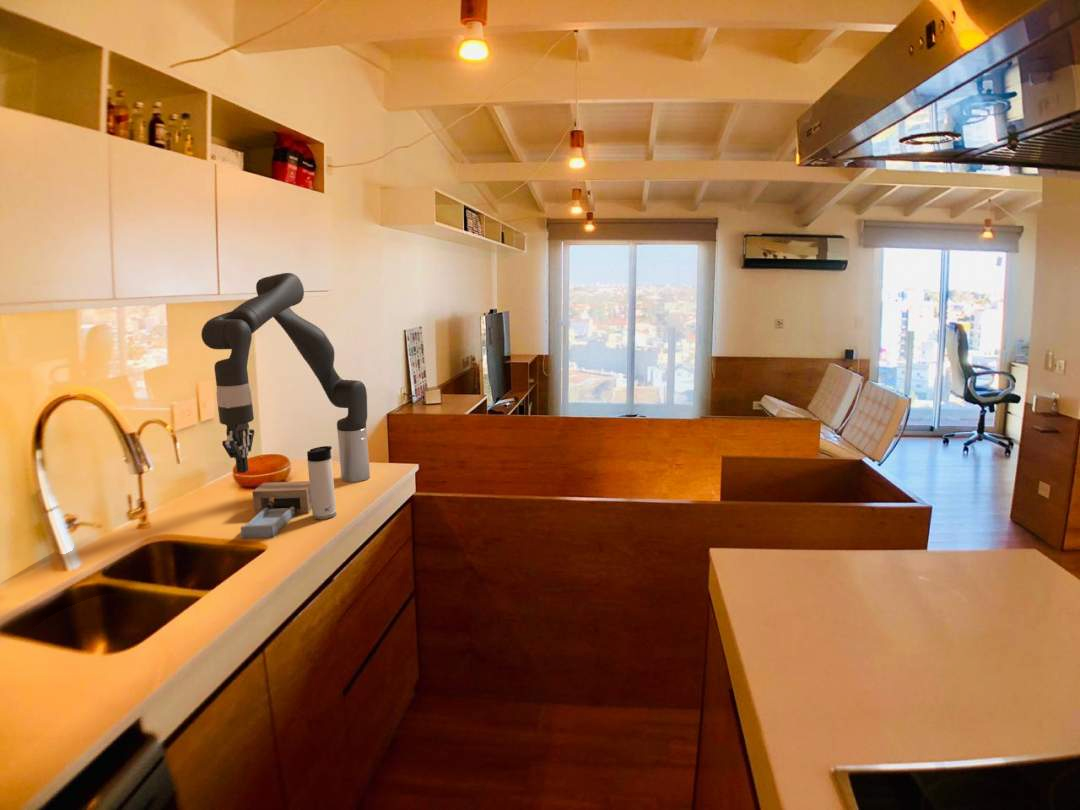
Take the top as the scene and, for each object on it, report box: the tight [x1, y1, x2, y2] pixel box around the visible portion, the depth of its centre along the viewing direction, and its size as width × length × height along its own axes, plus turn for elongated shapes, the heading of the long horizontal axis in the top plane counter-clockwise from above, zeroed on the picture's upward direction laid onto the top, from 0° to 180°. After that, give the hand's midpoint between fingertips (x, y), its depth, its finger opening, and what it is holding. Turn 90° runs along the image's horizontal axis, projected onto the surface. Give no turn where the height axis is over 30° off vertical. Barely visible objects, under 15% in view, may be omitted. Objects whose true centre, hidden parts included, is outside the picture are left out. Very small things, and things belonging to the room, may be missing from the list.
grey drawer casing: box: [252, 480, 312, 516], centre depth 183 cm, size 8×15×7 cm, turn 92°
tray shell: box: [240, 506, 296, 539], centre depth 170 cm, size 16×8×3 cm, turn 2°
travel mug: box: [306, 445, 337, 520], centre depth 175 cm, size 6×7×20 cm
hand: (242, 471), depth 155 cm, fingers closed
